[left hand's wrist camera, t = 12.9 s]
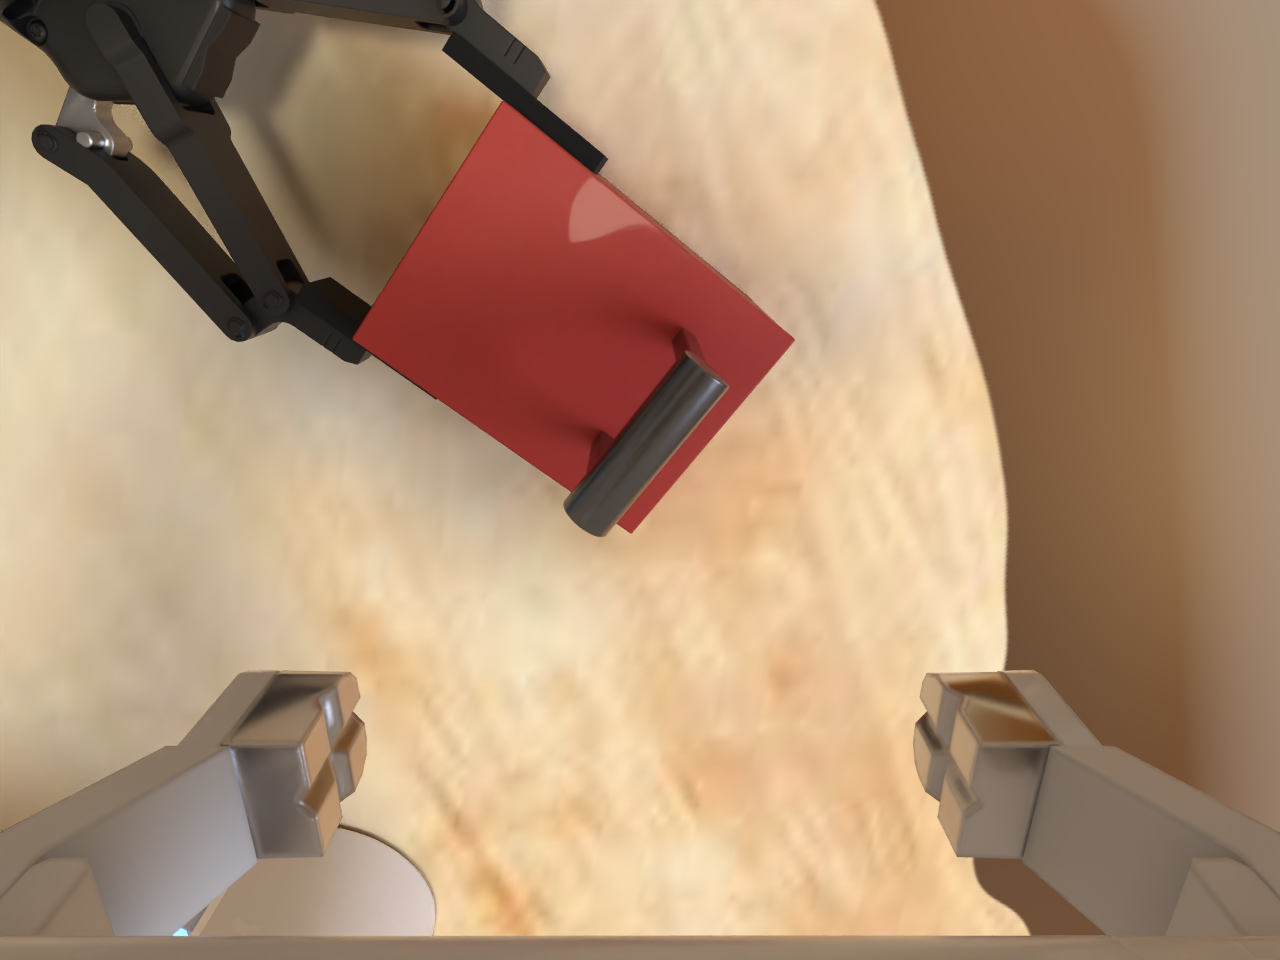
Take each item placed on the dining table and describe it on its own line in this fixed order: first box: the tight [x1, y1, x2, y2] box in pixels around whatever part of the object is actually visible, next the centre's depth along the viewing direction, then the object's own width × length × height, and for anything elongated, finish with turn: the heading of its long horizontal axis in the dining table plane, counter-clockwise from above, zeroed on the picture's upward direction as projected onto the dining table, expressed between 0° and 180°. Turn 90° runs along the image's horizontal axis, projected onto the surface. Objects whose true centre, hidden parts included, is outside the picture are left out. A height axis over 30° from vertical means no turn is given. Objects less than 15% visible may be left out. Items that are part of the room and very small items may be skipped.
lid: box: [353, 101, 795, 537], centre depth 25 cm, size 13×10×8 cm
